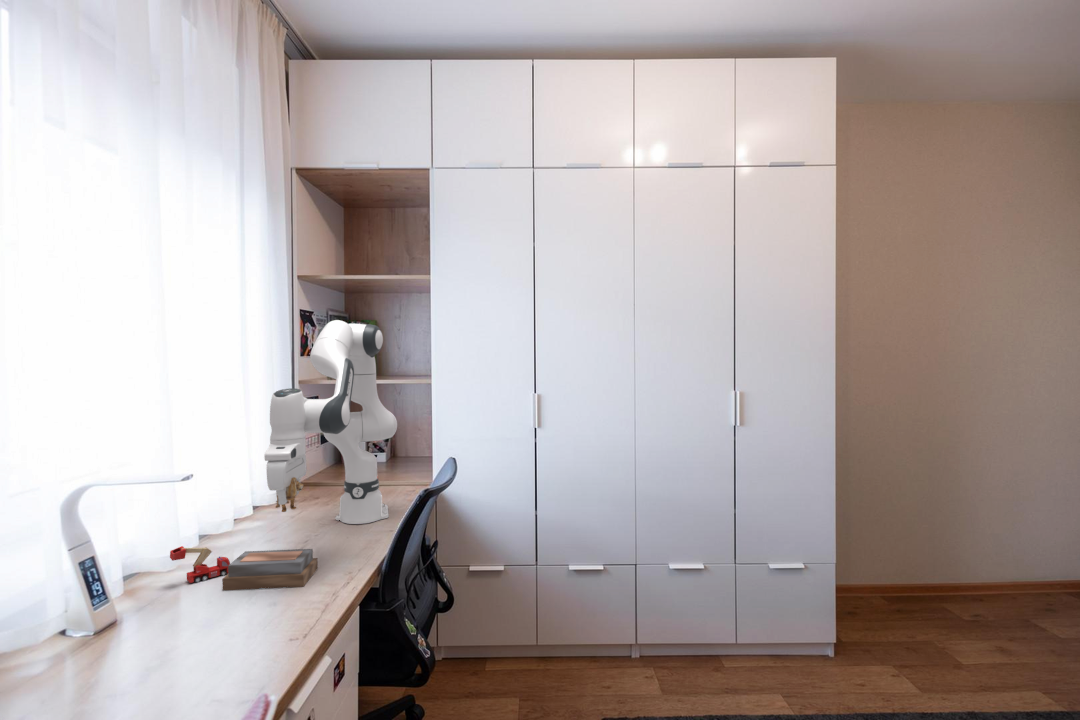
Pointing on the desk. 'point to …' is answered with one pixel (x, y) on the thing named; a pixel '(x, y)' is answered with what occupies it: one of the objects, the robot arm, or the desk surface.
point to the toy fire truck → (201, 569)
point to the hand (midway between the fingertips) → (289, 499)
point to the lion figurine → (291, 494)
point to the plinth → (271, 580)
